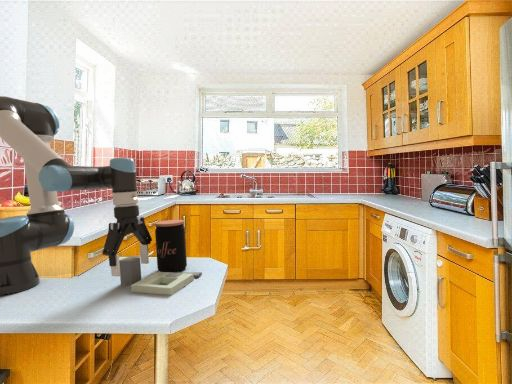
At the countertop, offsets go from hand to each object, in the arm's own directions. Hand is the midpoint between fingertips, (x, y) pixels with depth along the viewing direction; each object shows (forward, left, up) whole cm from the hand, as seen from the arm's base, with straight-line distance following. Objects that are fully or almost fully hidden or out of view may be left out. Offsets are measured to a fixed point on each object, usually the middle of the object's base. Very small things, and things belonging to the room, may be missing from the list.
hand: (131, 269), depth 98 cm
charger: (0, 0, -5) cm, 5 cm away
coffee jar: (+6, +15, -5) cm, 17 cm away
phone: (+17, +9, -4) cm, 19 cm away
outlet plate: (+13, 0, -4) cm, 13 cm away
